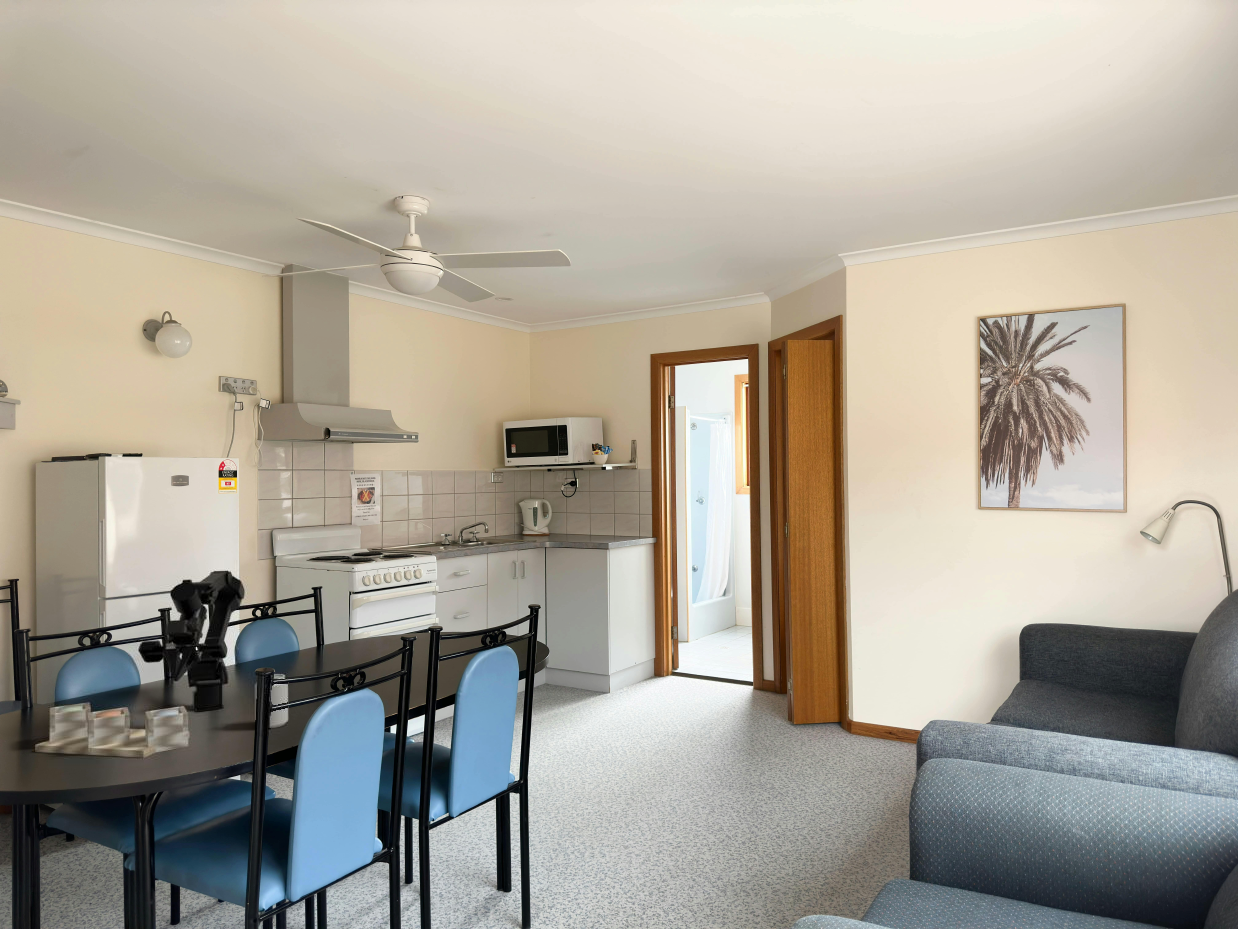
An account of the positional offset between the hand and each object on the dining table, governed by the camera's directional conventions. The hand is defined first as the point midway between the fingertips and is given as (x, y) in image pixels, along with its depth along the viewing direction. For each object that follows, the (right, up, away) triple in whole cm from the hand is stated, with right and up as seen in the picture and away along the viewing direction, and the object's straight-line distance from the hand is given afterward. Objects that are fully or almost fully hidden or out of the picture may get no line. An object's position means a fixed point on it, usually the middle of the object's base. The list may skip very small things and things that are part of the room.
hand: (175, 680), depth 193 cm
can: (+20, -13, +7) cm, 25 cm away
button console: (-10, -13, -7) cm, 18 cm away
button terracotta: (-11, -8, -8) cm, 16 cm away
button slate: (+2, -8, -8) cm, 12 cm away
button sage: (-23, -9, -3) cm, 25 cm away
